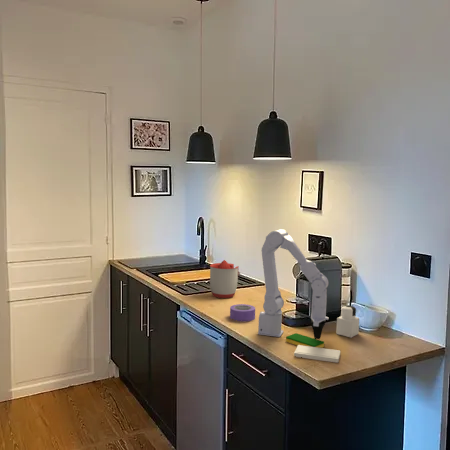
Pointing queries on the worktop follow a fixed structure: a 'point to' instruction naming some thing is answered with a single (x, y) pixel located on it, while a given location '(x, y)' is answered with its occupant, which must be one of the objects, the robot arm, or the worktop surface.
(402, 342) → the worktop surface
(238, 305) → the tape roll
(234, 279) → the citrus juicer
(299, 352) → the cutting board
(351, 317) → the medicine bottle
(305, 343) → the dish sponge
